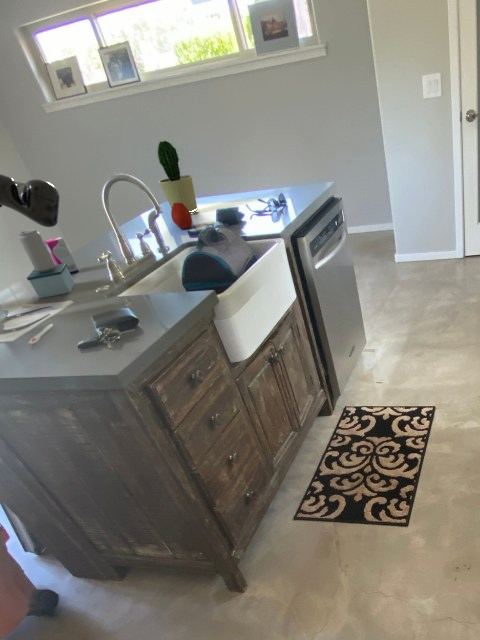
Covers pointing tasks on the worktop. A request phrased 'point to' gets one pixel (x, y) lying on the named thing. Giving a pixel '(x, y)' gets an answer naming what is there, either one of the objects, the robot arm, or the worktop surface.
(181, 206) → the red ovoid
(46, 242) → the supplement box
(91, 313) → the worktop surface
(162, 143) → the potted cactus
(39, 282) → the container
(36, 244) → the beverage can
